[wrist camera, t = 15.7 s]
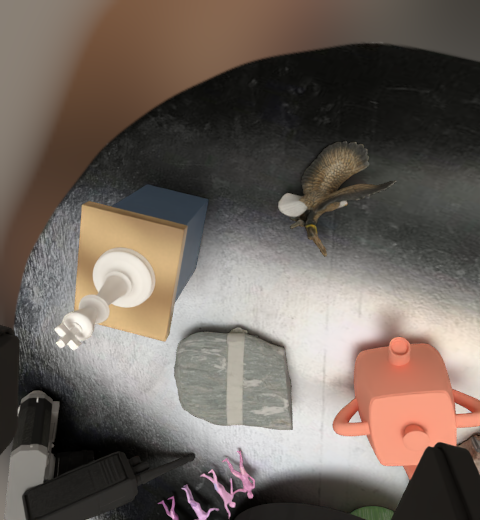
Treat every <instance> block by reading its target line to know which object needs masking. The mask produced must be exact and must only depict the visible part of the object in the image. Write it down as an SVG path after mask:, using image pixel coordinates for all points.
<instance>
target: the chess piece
mask: <svg viewBox="0 0 480 520" xmlns="http://www.w3.org/2000/svg"><path fill="white" fill-rule="evenodd" d="M93 281H94V285H95V287H96V289H97V291H98V294H97V295H86V296H84V297H83V298H82V299H81V301H80V303H79V310H76V311H72V312H70V313H68V314H67V315H65V317H64V318H63V321H62V323H61V324H60V325H59V326H57V327H56V328H55V329H54V330H55V331H56V332H57V333H58V334H59V335H60V337H61V338H60V339H59V340H58V341H57V342H56V344H57V345H58V346H59V347H60V348H62V347H64V346H65V345H66V344H68V345H69V346H70V348H71V349H72V350H75V349H76V348H78V347H79V346H80V345H81V342H80V341H83V340H86V339H88V338H89V337H90V336H91V335H92V333H93V331H94V326H95V324H99V323H102V322H104V321H105V320H106V319H107V318H108V316H109V313H110V310H109V305H110V304H113V305H115V306H119V307H124V308H130V307H135V306H138V305H140V304H141V303H143V302H144V301H145V300H147V299H148V298H149V297H150V296H151V294H152V292H153V290H154V287H155V274H154V271H153V268H152V266H151V265H150V263H149V262H148V260H147V259H146V258H145V257H144V256H142V255H141V254H140V253H138V252H136V251H134V250H132V249H129V248H121V247H120V248H113V249H110V250H108V251H106V252H105V253H103V254H102V255H101V256H100V258H99V259H98V260H97V262H96V264H95V266H94V269H93Z"/></svg>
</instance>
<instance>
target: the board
mask: <svg viewBox="0 0 480 520" xmlns="http://www.w3.org/2000/svg"><path fill="white" fill-rule="evenodd" d="M187 228H188V226H187V225H183V224H179V223H175V222H171V221H167V220H163V219H159V218H155V217H151V216H147V215H143V214H139V213H135V212H131V211H127V210H123V209H119V208H115V207H111V206H107V205H103V204H99V203H94V202H90V201H88V202H87V203H85V204H83V205H82V213H81V227H80V240H79V253H78V267H77V280H76V293H75V307H74V311H76V310H79V303H80V301H81V299H82V298H83V297H84V296H86V295H97V294H98V291H97V289H96V287H95V285H94V281H93V269H94V266H95V264H96V262H97V260H98V259H99V258H100V256H101V255H102V254H103V253H105V252H106V251H108V250H110V249H113V248H120V247H121V248H129V249H132V250H134V251H136V252H138V253H140V254H141V255H142V256H144V257H145V258H146V259H147V260H148V262H149V263H150V265H151V266H152V268H153V271H154V274H155V287H154V290H153V292H152V294H151V296H150V297H149V298H148V299H147V300H145V301H144V302H143V303H141V304H140V305H138V306H135V307H130V308H124V307H119V306H115V305H113V304H110V305H109V310H110V313H109V316H108V318H107V319H106V320H105V321H104V322H102V323H99V325H103V326H107V327H111V328H115V329H118V330H122V331H126V332H130V333H134V334H138V335H141V336H145V337H149V338H153V339H157V340H160V341H166V339H167V337H168V336H169V333H170V327H171V321H172V315H173V309H174V304H175V298H176V292H177V286H178V280H179V275H180V269H181V263H182V257H183V251H184V246H185V240H186V234H187Z"/></svg>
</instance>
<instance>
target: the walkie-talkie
mask: <svg viewBox="0 0 480 520" xmlns="http://www.w3.org/2000/svg"><path fill="white" fill-rule="evenodd" d="M194 458H195V456H194V455H193V454H190V455H188V456H186V457H183V458H180V459H178V460H175V461H172V462H170V463H167V464H164V465H162V466H159V467H157V468H153V469H150V470H147V469H149V463H148V462H143V463H141V460H140V457H139V456H135V457H132V458H131V459H127V457H126V455H125V453H123V452H120V451H117V452H114V453H112V454H109V455H107V456H104V457H102V458H100V459H97V460H95V461H92V462H90V463H89V464H85V465H82V466H80V467H78V468H75V469H73V470H70V471H68V472H66V473H64V474H61V475H59V476H57V477H55V478H53V479H51V480H48V481H46V482H44V483H43V484H40V485H37V486H35V487H33V488H31V489H29V490H27V491H25V492H24V493H23V495H22V501H23V507H24V512H25V518H26V520H86V519H89V518H92V517H94V516H97V515H100V514H102V513H105V512H108V511H110V510H113V509H115V508H117V507H120V506H122V505H124V504H126V503H129V502H131V501H133V500H134V497H135V496H136V494H137V493H138V490H137V486H139V485H140V484H141V483H142V484H145V483H146V482H148V481H150V480H152V479H154V478H156V477H157V476H159V475H161V474H164V473H166V472H168V471H170V470H172V469H175V468H177V467H179V466H181V465H184V464H186V463H187V462H190V461H193V460H194ZM145 470H147V471H145ZM143 471H144V472H143ZM140 472H141V473H140ZM138 473H140V474H139V475H135V474H138Z"/></svg>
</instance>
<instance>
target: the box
mask: <svg viewBox="0 0 480 520" xmlns="http://www.w3.org/2000/svg"><path fill="white" fill-rule="evenodd" d="M208 201H209V199H205V198H201V197H197V196H193V195H189V194H185V193H181V192H177V191H173V190H169V189H164V188H160V187H156V186H152V185H148V184H147V185H145V186H144V187H142V188H140V189H139V190H137V191H135V192H134V193H132V194H131V195H129V196H127V197H126V198H124V199H122V200H121V201H119V202H118V203H116V204H114V205H113V206H111V207H115V208H119V209H123V210H127V211H131V212H135V213H139V214H143V215H147V216H151V217H155V218H159V219H163V220H167V221H171V222H175V223H179V224H183V225H187V226H188V228H187V234H186V240H185V246H184V251H183V257H182V263H181V269H180V275H179V280H178V286H177V292H176V298H175V302H176V300H177V299H178V297H179V295H180V294H181V292H182V290H183V289H184V287H185V286H186V284H187V282H188V281H189V279H190V277H191V276H192V274H193V272H194V271H195V269H196V265H197V259H198V254H199V249H200V243H201V238H202V233H203V227H204V222H205V217H206V211H207V206H208Z"/></svg>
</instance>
